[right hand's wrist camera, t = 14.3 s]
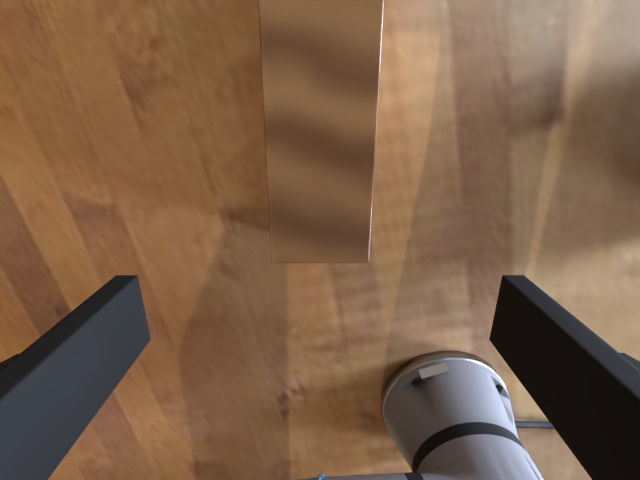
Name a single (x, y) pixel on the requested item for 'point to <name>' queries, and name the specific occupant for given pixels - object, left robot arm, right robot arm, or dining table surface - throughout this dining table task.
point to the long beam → (320, 125)
